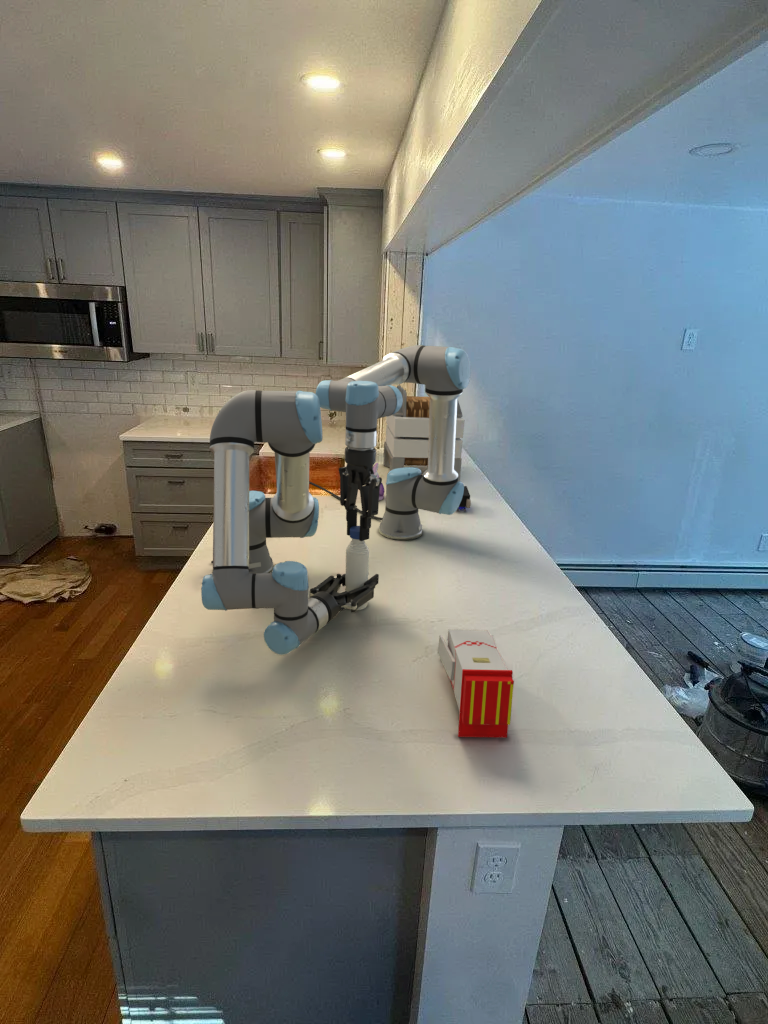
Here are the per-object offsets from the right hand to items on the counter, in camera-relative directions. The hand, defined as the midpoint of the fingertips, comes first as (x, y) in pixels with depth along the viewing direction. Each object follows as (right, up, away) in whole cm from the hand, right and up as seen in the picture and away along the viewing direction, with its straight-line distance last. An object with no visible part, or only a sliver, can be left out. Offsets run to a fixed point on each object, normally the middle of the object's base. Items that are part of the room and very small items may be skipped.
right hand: (357, 536), depth 145 cm
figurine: (+3, +12, +91) cm, 91 cm away
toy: (+25, -31, -26) cm, 48 cm away
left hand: (+2, -11, +9) cm, 14 cm away
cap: (0, +2, -1) cm, 2 cm away
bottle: (-1, -18, +7) cm, 20 cm away
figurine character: (+37, +8, +85) cm, 93 cm away
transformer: (+24, +25, +130) cm, 135 cm away
